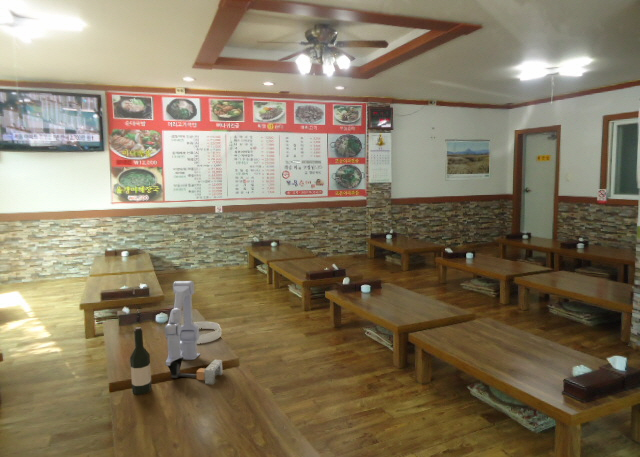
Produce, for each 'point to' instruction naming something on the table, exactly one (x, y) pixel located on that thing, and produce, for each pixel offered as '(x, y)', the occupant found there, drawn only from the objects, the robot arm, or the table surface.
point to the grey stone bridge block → (213, 371)
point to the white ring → (209, 336)
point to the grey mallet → (199, 375)
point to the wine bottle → (140, 366)
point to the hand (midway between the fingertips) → (175, 373)
